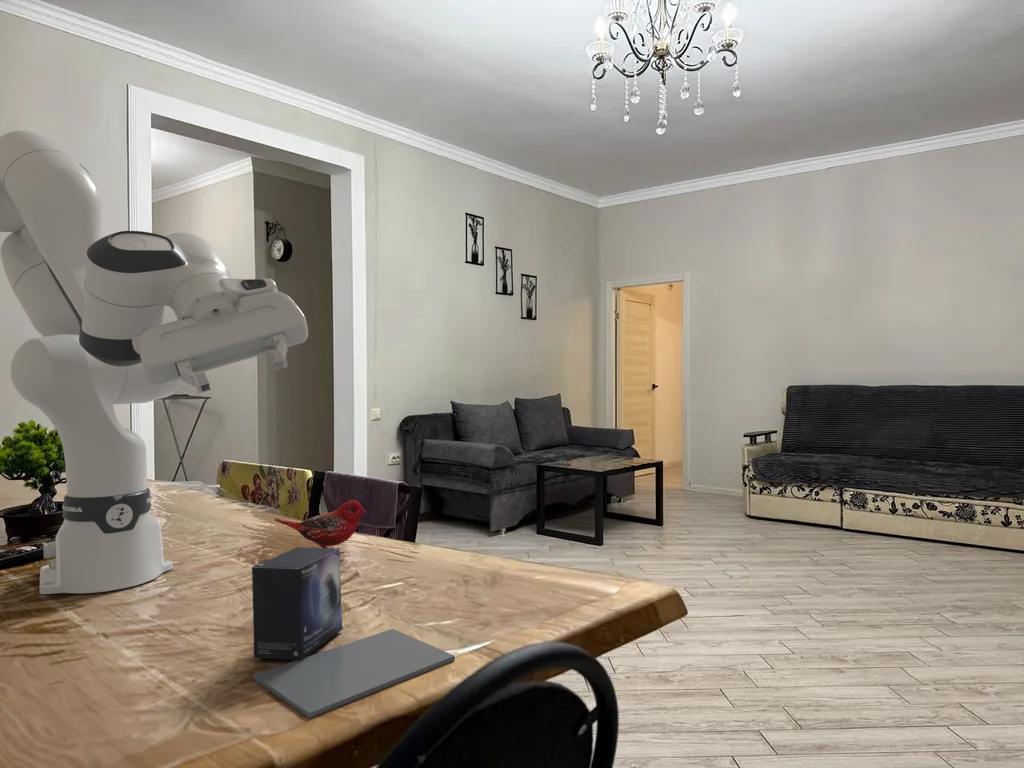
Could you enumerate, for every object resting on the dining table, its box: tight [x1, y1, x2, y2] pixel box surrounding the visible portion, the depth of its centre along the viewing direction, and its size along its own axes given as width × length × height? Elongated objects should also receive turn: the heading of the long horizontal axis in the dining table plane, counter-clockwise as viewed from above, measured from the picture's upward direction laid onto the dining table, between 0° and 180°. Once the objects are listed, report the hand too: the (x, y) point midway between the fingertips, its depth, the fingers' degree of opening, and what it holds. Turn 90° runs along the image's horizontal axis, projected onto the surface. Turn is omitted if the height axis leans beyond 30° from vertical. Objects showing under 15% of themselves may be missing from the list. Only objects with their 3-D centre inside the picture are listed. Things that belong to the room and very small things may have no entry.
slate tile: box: [252, 628, 456, 719], centre depth 76 cm, size 12×18×1 cm, turn 135°
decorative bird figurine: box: [274, 499, 367, 555], centre depth 124 cm, size 3×18×10 cm, turn 80°
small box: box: [251, 546, 343, 661], centre depth 83 cm, size 11×6×10 cm, turn 168°
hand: (243, 376), depth 85 cm, fingers open, 8 cm apart
